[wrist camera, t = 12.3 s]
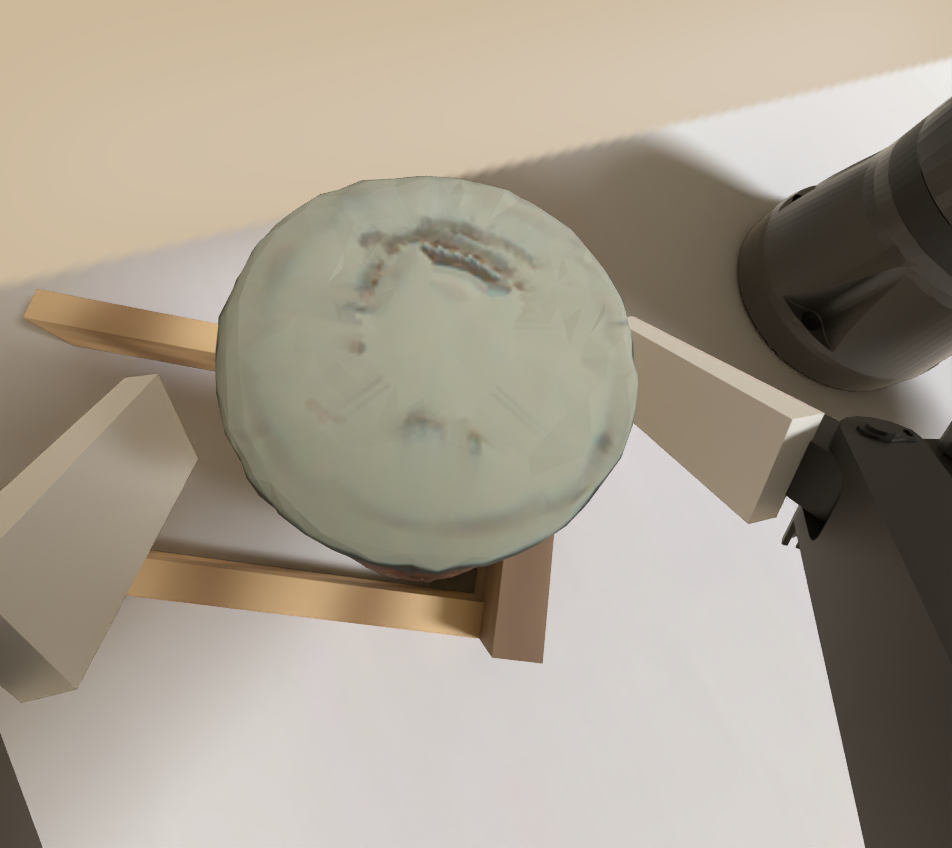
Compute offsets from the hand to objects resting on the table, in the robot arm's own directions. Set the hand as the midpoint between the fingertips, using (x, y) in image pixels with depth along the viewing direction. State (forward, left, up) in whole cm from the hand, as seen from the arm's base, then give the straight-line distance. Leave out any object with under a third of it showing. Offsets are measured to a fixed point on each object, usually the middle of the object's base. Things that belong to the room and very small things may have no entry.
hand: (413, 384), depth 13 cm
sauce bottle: (-1, +2, -11) cm, 12 cm away
